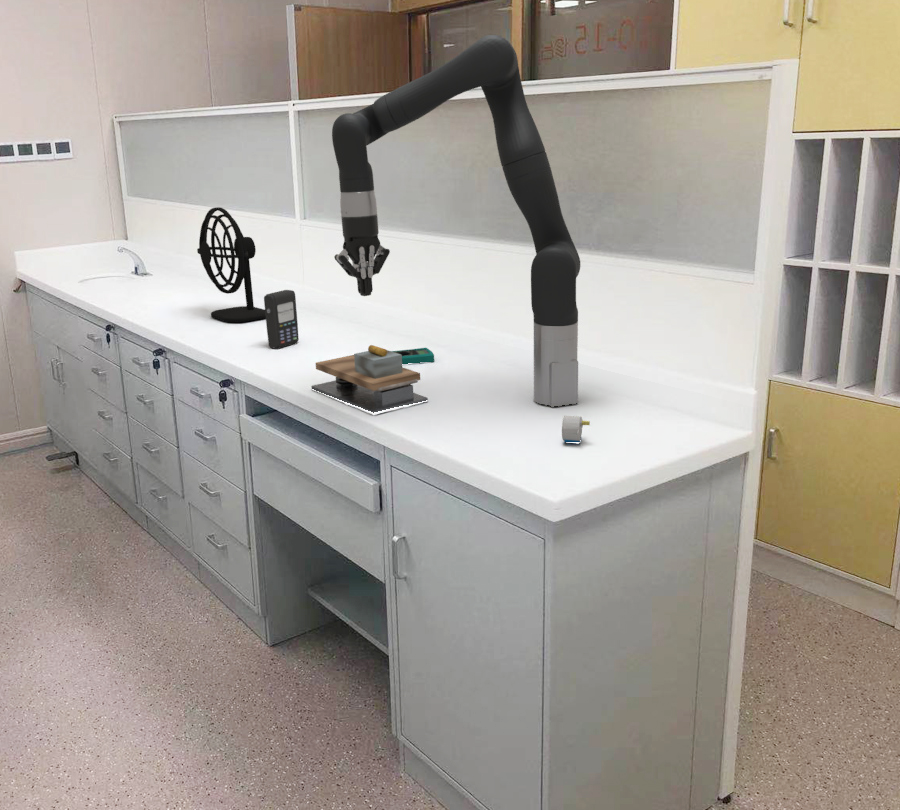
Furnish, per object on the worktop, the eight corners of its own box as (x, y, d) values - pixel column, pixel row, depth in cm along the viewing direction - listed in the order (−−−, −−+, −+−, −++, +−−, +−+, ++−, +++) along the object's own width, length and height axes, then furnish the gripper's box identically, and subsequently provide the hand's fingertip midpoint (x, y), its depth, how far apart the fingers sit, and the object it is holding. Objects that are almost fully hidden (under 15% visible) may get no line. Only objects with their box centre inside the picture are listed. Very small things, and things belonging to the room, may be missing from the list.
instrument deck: (421, 382, 191) (420, 348, 189) (374, 393, 185) (372, 358, 182) (360, 361, 210) (358, 330, 208) (316, 370, 203) (313, 338, 201)
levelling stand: (427, 402, 193) (426, 381, 192) (373, 416, 185) (372, 394, 184) (363, 378, 213) (362, 359, 211) (311, 390, 205) (310, 370, 203)
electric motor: (586, 449, 162) (587, 423, 161) (560, 447, 164) (560, 422, 162) (591, 436, 169) (591, 411, 167) (566, 435, 170) (566, 410, 169)
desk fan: (194, 315, 291) (181, 206, 281) (243, 307, 302) (232, 202, 291) (232, 328, 271) (219, 211, 261) (282, 319, 282) (272, 206, 271)
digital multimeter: (372, 362, 229) (371, 351, 228) (428, 356, 232) (428, 346, 231) (377, 369, 222) (377, 358, 221) (435, 363, 225) (435, 352, 224)
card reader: (277, 350, 243) (272, 295, 238) (267, 348, 245) (261, 294, 240) (300, 343, 250) (296, 290, 245) (290, 341, 252) (285, 288, 247)
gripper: (340, 217, 180) (348, 302, 185) (395, 211, 187) (401, 292, 192) (322, 215, 185) (330, 298, 191) (376, 209, 193) (382, 289, 198)
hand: (365, 295), depth 191 cm, fingers closed
